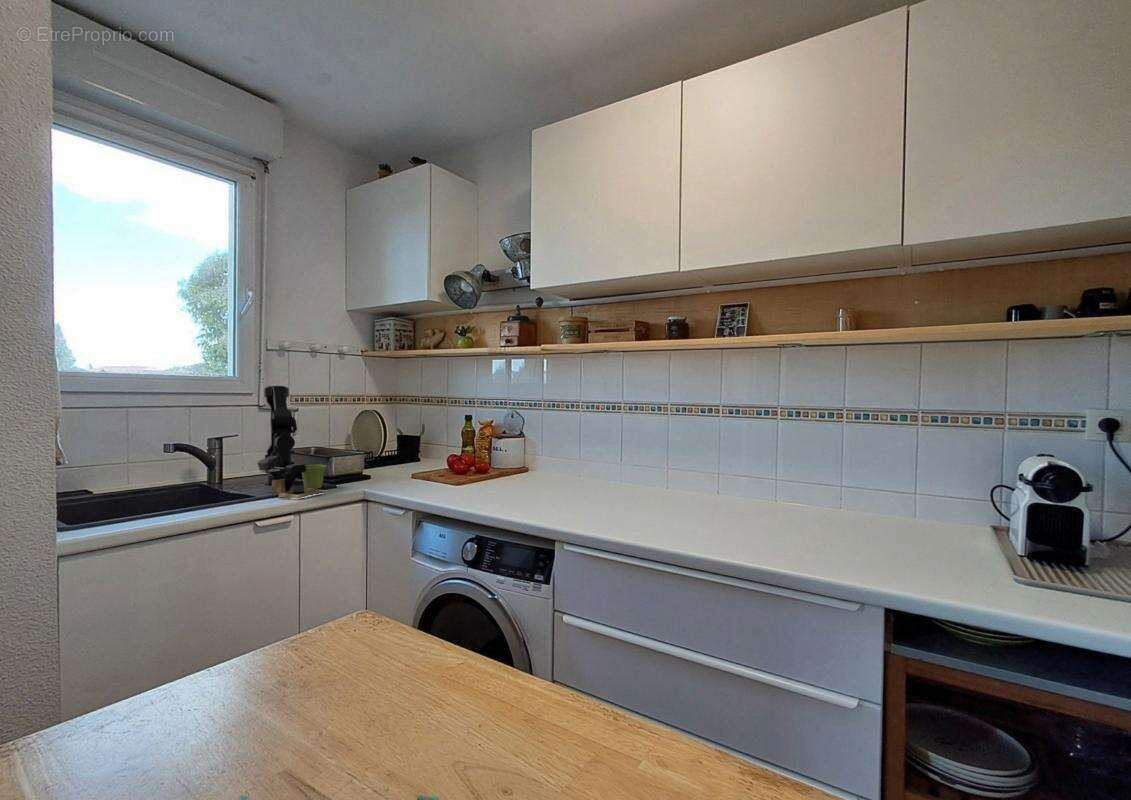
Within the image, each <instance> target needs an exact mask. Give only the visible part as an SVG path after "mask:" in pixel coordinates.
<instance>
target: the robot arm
mask: <svg viewBox="0 0 1131 800" xmlns="http://www.w3.org/2000/svg"><path fill="white" fill-rule="evenodd" d="M289 389H290V388H289V387H288V386H284V385H267V387H264V389H263V397H264V398H265V402H266V403H267V405H268V406H269V408H270V418H269V419H270V422H269V423H270V444H269V446H268V448H267V450H266V454H264V458H262V459H260V460H258V461H257V462H256V464H257V466H258V468H259V471H261V472H262V471H264V473H266V474H267V482H264V483H265V484H264V485H268V484H271V485H270V486H272V480H279V479H285V488H286V491H290V489H291V487H292V485H293V483H294V482H295V481H296V479H297V477H298V476H299V474H301V473H302V472H306V464H305V463H295V461H294V460H293V461H292V454H295V450H293V448H294V446H295V444H296V441H295V439H294V437H293V436H292V434H296V433H297V430H298V425H297V419H295V417H294V416H293V413H292V411H291V410H289V409H288V404H287V401H288V400H287V398H289V396H290V390H289Z"/></svg>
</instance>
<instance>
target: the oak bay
mask: <svg viewBox="0 0 1131 800" xmlns="http://www.w3.org/2000/svg"><path fill="white" fill-rule="evenodd" d="M319 493H325V494H326V490H324V489H319V488H318V489H310V488H304V487H303V493H301V494H294V493H290V494H287V493H279V495H278V498H279V497H283V498H282V499H287V498H297V499H298V498H301V497H305V496H308V495H313V494H319Z"/></svg>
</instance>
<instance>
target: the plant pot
mask: <svg viewBox="0 0 1131 800" xmlns="http://www.w3.org/2000/svg"><path fill="white" fill-rule="evenodd" d="M305 465H306V464H305ZM326 468H327V464H325V465H324V464H307V465H306V472H301V475H302V483H303V489H304V488H310V489H318V490H319V489H322V488H321V487H323V481H324V475H325V470H326Z"/></svg>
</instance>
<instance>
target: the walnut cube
mask: <svg viewBox="0 0 1131 800" xmlns="http://www.w3.org/2000/svg"><path fill="white" fill-rule="evenodd" d="M294 486H295V485H294V483H293V485H292V487H291V489H290V491H286V488H285V479H279V480H272V485H271V494H272V493H273V494H272V495H276V494H279V493H287V494H294V488H295V487H294Z"/></svg>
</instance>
